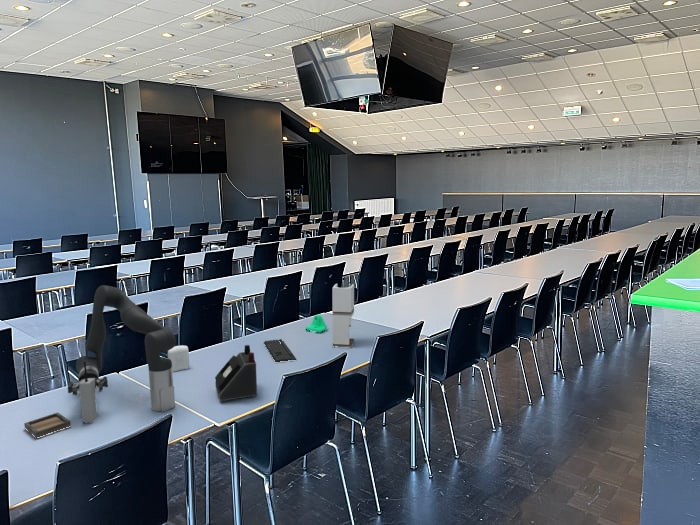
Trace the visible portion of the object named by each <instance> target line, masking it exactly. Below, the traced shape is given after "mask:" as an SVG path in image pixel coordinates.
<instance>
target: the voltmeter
mask: <svg viewBox="0 0 700 525" xmlns="http://www.w3.org/2000/svg"><path fill="white" fill-rule="evenodd" d="M254 353H255V352H252V351H251V347H250V344H245V345H244V351H243V352H242V351H241V352H239V353H237V355H234V354H233V355H232V356H231V357H230V359H229V360H227V362H226V363H225V364H224V365H223V367H222V368H221V369H220V370H219V372H218V373H217V374H216V375H215V377H214V379H215V383H214V384H215V389H216V393H217V395H218V396H217V397H218V399H219V401H221V402H222V403H226V402H227V401H228V400H235V399H238V398H239V399H240V398H246V397H248V398H251V399H252V398H254V397H255V396H257V395H258V383H257V382H258V381H257V378H258V377H257V362H256V360H255V354H254Z"/></svg>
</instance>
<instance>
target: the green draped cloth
mask: <svg viewBox="0 0 700 525" xmlns="http://www.w3.org/2000/svg"><path fill="white" fill-rule="evenodd" d="M312 318H313V319H312V321H311V323H310V324H309V325H307V326H305V328H304V330H305V329H307V330H306V331H309V330H312V331H316V332H317V333H323V332H325V331H327V330H328V327H327V325H326V323H325V322H326V321H325V320H324V318H323V317H322V315H321V314H316V315H314V316H313V317H312ZM326 329H327V330H326ZM324 330H325V331H324ZM322 331H323V332H322Z"/></svg>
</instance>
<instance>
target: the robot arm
mask: <svg viewBox="0 0 700 525" xmlns="http://www.w3.org/2000/svg"><path fill="white" fill-rule="evenodd" d="M92 304H93V305H92V314H91V324H90V328H89V329H90V330H89V334H88V337H87V340H86V343H85V344H86V345H85V350H86V351H88V352H91V353H93V354H95V356H89V355H81V356H80V357H78V359H77V360H76V364H75V368H76V371H77V373H78V381H76V382H73V381H70V382H68V385H67V393H68V394H72V396H73V395H74V396H75V397H76V396H77V395H78V392H80V385H79V384H80V383H81V382H82V381H83V380H84V379H85V369H84V361H86V372H87V378H95V390H97V389H98V392H102V391H103V390H104V388H108V387H109V384H108V382H109V381H108V377H107V376H103V378H100V375H99V374H100V372H101V371H102V369H103V348H104V344H105V341H106V337H107V328H106V323H105V320H104V309H105V307H109V308H114V309H116V310H117V311H119V312H120V319H121V322H122V323H123V324H124V325H125V326H127V327H128V328H129V329H130V330H132V331H133V332H136V333H140V334H145V336H144V348H145V358H146V363H147V366H148V377H149V378H148V379H149V381H148V382H149V391H150V392H149V394H150V409H151V410H153V411H155V412H166V411H168V410H172V409H173V408H176V400H175V399H176V398H175V397H176V396H175V386H174V378H173V377H174V376H173V372H172V361H171V360H170V359H168V357H161V354H160V353H164V352H168V350H170V349H172V348H173V347H175V346H176V342H177V341H176V336H175V335H174V333H173V332H172V331H171V330H170V329H169V328H168V327H166V326H164V325H163V324H162V323H159V322H158V321H157V320H155V319H154V318H153V317H151V316H150V315H149V314H148V313H147V312H146V311H145V310H144V309H142V308H141V307H139V305H137V304H136V303H135V302H133V300H131V299H130V298H129V297H128V295H126V293H125V291H123V290H122V289H120V288H119V287H114V286H112V285H111V286H110V285H105V284H103V285H100V286H98V287H97V289H96V290H95V293H94V298H93V303H92Z"/></svg>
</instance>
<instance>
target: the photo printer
mask: <svg viewBox="0 0 700 525" xmlns="http://www.w3.org/2000/svg"><path fill="white" fill-rule="evenodd" d="M189 352H190V351H189V347H188V346H187V345H175V346H174V347H173V348H172V349H170V350H168V351H167V358H168V359H170V360H171V361H172V373H173V372H178V371H183V370H187V369H190V356H189V355H190V354H189Z"/></svg>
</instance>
